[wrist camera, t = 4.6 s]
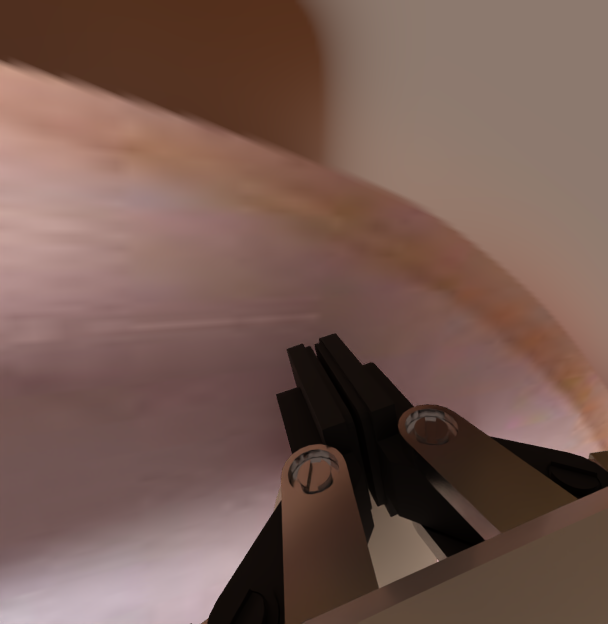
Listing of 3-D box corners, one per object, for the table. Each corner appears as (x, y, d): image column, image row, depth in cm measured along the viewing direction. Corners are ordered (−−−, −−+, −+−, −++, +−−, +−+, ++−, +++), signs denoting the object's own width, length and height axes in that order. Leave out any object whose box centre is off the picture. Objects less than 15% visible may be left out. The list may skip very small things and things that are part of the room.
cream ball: (248, 431, 12) (268, 596, 7) (382, 390, 13) (482, 510, 8) (278, 527, 14) (310, 708, 9) (392, 486, 15) (477, 630, 10)
